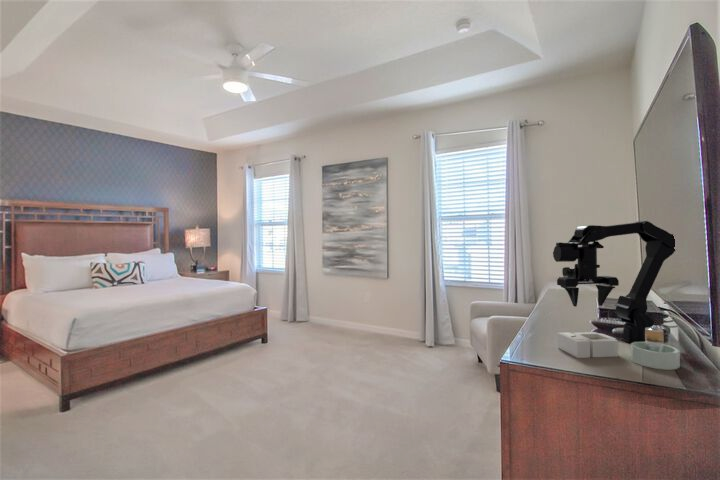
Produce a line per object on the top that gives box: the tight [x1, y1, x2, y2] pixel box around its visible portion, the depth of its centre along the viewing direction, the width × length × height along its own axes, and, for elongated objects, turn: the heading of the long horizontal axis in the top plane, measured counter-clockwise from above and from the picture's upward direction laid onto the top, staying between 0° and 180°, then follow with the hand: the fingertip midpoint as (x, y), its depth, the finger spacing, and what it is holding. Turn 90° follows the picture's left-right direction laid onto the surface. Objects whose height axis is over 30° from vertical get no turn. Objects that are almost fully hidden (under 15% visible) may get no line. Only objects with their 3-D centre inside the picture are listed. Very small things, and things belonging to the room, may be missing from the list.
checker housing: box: [556, 331, 619, 359], centre depth 113 cm, size 10×14×5 cm
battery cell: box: [645, 325, 664, 352], centre depth 103 cm, size 4×4×10 cm
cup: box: [630, 342, 681, 371], centre depth 103 cm, size 11×11×4 cm
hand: (587, 306), depth 123 cm, fingers open, 9 cm apart
